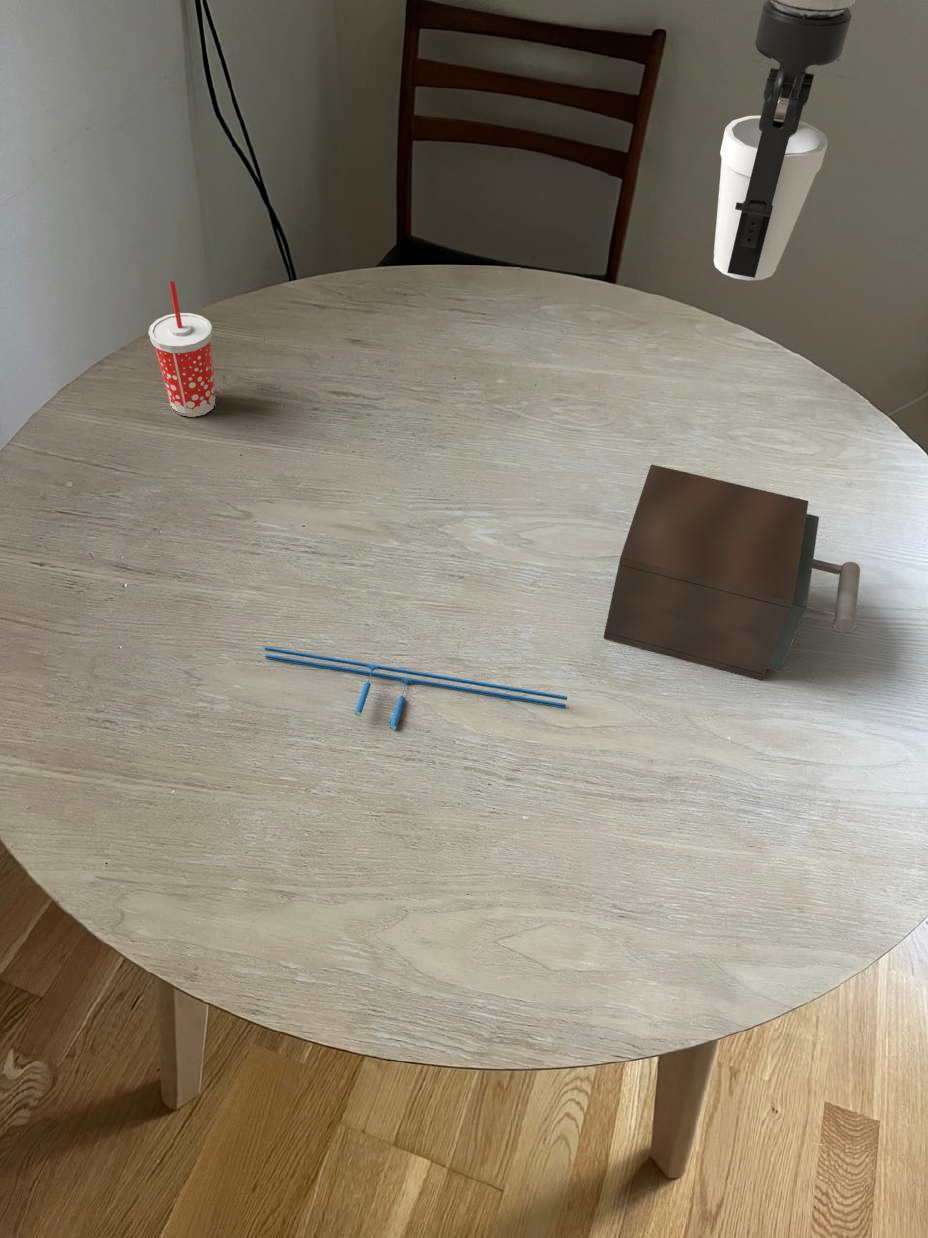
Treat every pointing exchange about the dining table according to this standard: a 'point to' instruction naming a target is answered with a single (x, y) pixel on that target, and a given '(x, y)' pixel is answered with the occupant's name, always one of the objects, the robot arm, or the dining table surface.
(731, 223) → the foam cup
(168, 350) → the beverage cup
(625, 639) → the cabinet
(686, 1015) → the dining table surface
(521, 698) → the bar handle
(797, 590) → the drawer
